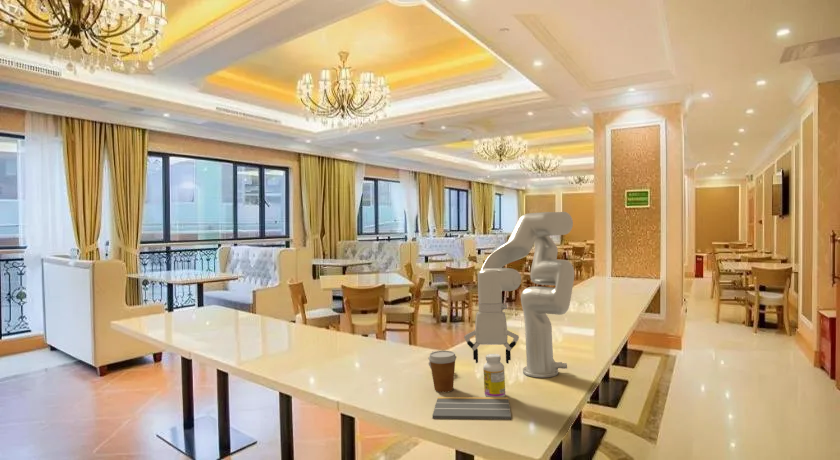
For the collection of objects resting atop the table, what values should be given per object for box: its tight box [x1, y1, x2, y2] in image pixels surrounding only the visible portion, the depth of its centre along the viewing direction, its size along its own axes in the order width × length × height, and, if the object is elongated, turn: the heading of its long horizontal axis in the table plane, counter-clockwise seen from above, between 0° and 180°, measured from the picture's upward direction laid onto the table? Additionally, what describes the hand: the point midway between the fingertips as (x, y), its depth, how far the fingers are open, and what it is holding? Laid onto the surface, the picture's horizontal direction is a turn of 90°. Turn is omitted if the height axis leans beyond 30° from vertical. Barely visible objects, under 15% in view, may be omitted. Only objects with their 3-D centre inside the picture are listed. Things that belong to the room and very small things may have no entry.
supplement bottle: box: [482, 353, 506, 397], centre depth 144 cm, size 7×7×13 cm
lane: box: [432, 396, 512, 420], centre depth 134 cm, size 22×15×1 cm
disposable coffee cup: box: [427, 350, 457, 393], centre depth 153 cm, size 10×10×12 cm
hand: (492, 362), depth 144 cm, fingers open, 9 cm apart
